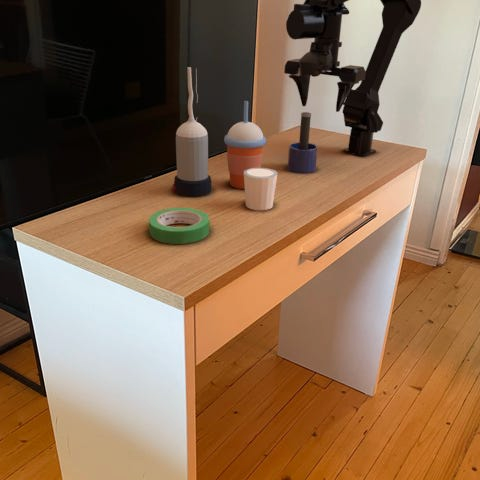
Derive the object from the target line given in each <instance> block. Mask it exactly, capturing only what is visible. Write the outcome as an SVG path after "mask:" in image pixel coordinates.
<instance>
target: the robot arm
mask: <svg viewBox="0 0 480 480" xmlns="http://www.w3.org/2000/svg"><path fill="white" fill-rule="evenodd" d="M348 1H350V0H304V2H303V3H294V4H293V10H292V11H290V13H289V14H288V17H287V19H286V22H285V25H286V26H285V28H286V29H285V30H286V32H287V35H288V36H289V38H290V39H292V40H308V39H314V40H313V41H312V42H310V47H309V51H308V52H306V53H305V54H303V56H301V57H300V58H294V59H293V58H292V59H288V60H287V61H286V62H285V63H284V68H283V73H284V74H286V75H288V77H289V79H292V81H294V83H295V85H296V87H297V91H298V94H299V98H300V102H301V105H302V107H306V106H307V103H308V97H309V90H310V82H311V77H314V78H316V77H319V76H320V75H325V76H332V77H338V78H339V80H340V81H338V82H337V81H336V84H337V88H338V89H337V96H336V104H335V112H336V113H339V112H340V111H341V109H342V114H343V121H344V127H345V128H347V127H348V128H350V133H349V140H348V147H347V148H344V149H343V152H344V153H348V154H351V155H355V156H360V157H366V156H369V155H371V154H374V153H376V152H377V150H376V149H373V148H372V146H373V140H374V134H375V133H378V132H380V131H382V128H383V125H384V121H383V120H382V118H381V116H380V115H379V108H380V104H381V103H380V96H379V92H380V89H381V86H382V84H383V82H384V80H385V76H386V74H387V71H388V69H389V67H390V64H391V62H392V60H393V57H394V54H395V52H396V49H397V47H398V44H399V42H400V40H401V37H402V35H403V34H404V33H405V31H407V30H408V29H409V28H410V27H411V26H412V25H413V24H414V22H415V20H416V19H417V16H418V14H419V13H420V10H421V7H422V0H379V1H380V3H381V4H382V6H383V8H382V12H381V20H382V21H381V22H382V27H381V31H380V33H379V35H378V38H377V41H376V44H375V45H374V48H373V52H372V53H371V56H370V58H369V61H368V63H367V66H366V69H365V67H364V66H361V65H360V66H359V65H352V64H350V65H345V66H341V67H340V65H341V61H340V60H338V59H339V52H340V51H339V49H340V48H342V46H343V41H340V39H341V30H342V21H343V19H342V18H343V15H346V16H347V15H349V14H350V10H349V8H348V7H346V5H345V3H346V2H348ZM357 84H359V85H358V86H357V87H356V88H355V89H353V87H354V86H355V85H357ZM342 107H343V108H342Z"/></svg>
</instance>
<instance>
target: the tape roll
mask: <svg viewBox="0 0 480 480" xmlns="http://www.w3.org/2000/svg"><path fill="white" fill-rule="evenodd" d="M175 224H186V226H170V225H175ZM187 225H188V226H187ZM148 230H149V235H150V237H151V238H152V239H154V240H155V241H157V242H160V243H164V244H169V245H186V244H193V243H195V242H199V241H201V240H204V239H205V238H206V237H208V235H209V234H210V217H209V215H208V214H207V213H206V212H204V211H202V210H200V209H196V208H192V207H171V208H165V209H162V210H159V211H156V212H154V213H153V214H151V215H150V216H149V219H148Z"/></svg>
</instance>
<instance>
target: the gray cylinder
mask: <svg viewBox="0 0 480 480" xmlns="http://www.w3.org/2000/svg"><path fill="white" fill-rule="evenodd" d="M311 117H312V113H311V112H307V111H305V112H300V126H299V127H300V128H299V141H298V143H299V149H300V150H308V143H310V142H309V140H310V132H311V131H310V130H311V129H310V128H311V120H312V119H311Z"/></svg>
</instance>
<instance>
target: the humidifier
mask: <svg viewBox="0 0 480 480" xmlns="http://www.w3.org/2000/svg"><path fill="white" fill-rule="evenodd" d="M186 69H187V91H188V99H187V111H188V119H187V121H185V122H184V123H182V124H181V125H180V126H178V128H177V130H176V132H175V154H176V155H175V156H176V175H175V176H174V181H173V182H174V183H173V184H172V190H173V192H174V193H175V194H176V195H178V196H182V197H187V198H198V197H199V198H200V197H205V196H207V195H210V194H211V193H212V176H210V175H209V135H208V131H207V128H206V127H204V126H203V125H202V124H201V123H199V122H198V121H197V120H198V118H196V119H195V117H194V111H193V101H194V91H193V79H192V67H190V66H188V67H187V68H186ZM197 75H198V74H197V69H195V88H197V87H198V85H197V84H198V81H197V78H198V77H197ZM195 92H196V93H195V94H196V102H198V100H199V96H198V92H197V90H195Z"/></svg>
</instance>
